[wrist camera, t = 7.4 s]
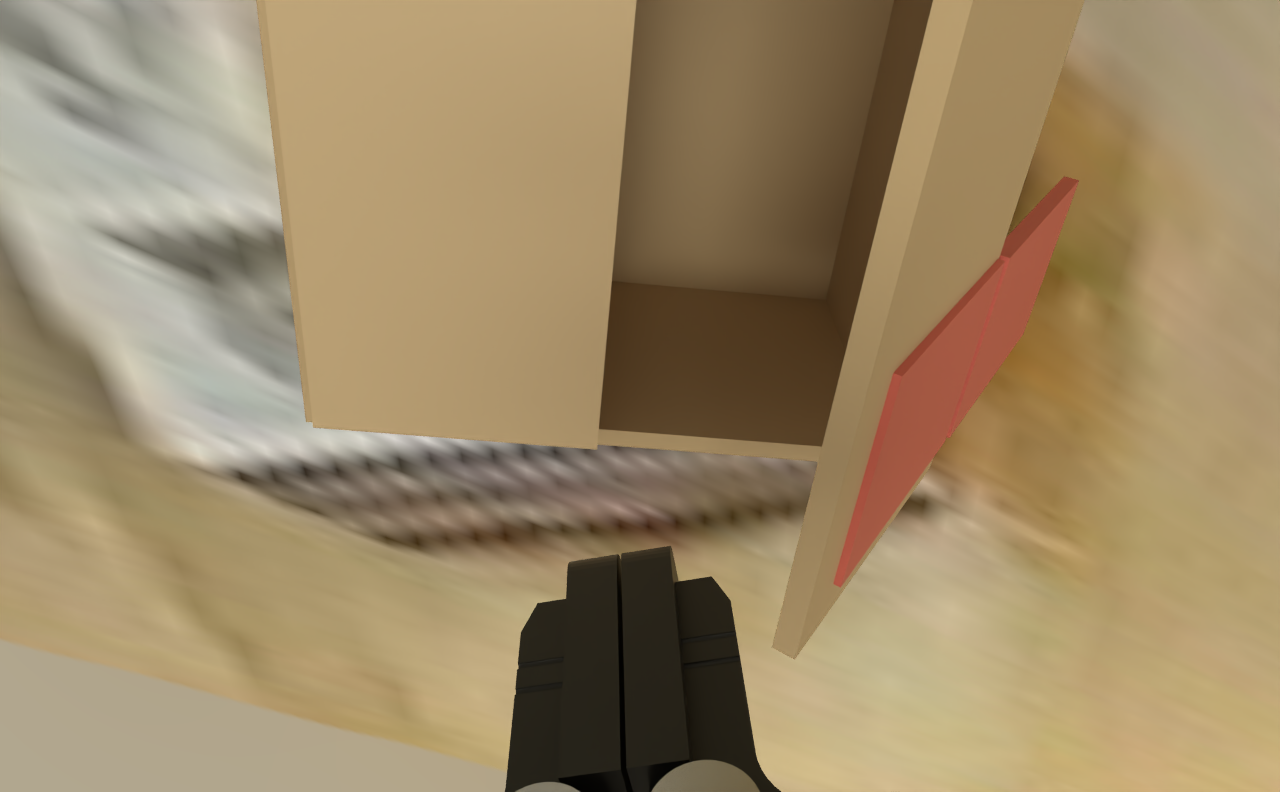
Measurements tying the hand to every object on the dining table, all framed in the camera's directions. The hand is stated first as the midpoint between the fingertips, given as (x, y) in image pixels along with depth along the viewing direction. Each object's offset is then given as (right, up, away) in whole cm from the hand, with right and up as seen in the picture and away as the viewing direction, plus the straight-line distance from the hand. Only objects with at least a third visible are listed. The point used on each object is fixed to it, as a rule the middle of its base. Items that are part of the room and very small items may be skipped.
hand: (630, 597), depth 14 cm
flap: (+10, +9, +11) cm, 17 cm away
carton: (0, +16, +20) cm, 26 cm away
